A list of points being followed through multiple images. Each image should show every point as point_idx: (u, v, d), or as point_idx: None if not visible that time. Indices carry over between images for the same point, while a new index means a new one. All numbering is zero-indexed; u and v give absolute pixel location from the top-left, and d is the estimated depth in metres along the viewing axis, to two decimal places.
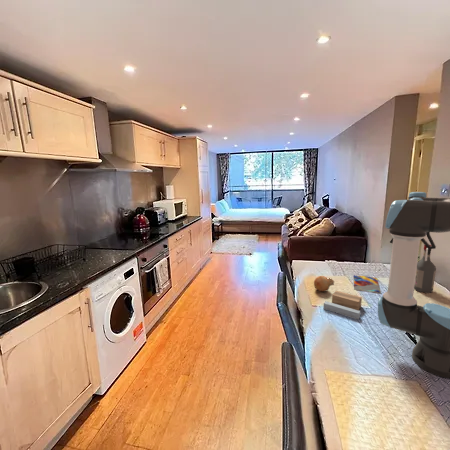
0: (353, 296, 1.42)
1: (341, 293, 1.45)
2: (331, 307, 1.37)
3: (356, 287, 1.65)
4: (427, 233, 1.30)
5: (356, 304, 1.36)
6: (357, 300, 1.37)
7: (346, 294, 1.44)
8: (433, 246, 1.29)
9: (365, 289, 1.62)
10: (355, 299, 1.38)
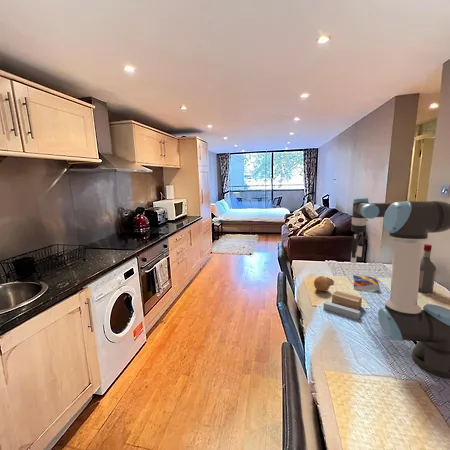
0: (353, 296, 1.42)
1: (341, 293, 1.45)
2: (331, 307, 1.37)
3: (356, 287, 1.65)
4: None
5: (356, 304, 1.36)
6: (357, 300, 1.37)
7: (346, 294, 1.44)
8: None
9: (365, 289, 1.62)
10: (355, 299, 1.38)
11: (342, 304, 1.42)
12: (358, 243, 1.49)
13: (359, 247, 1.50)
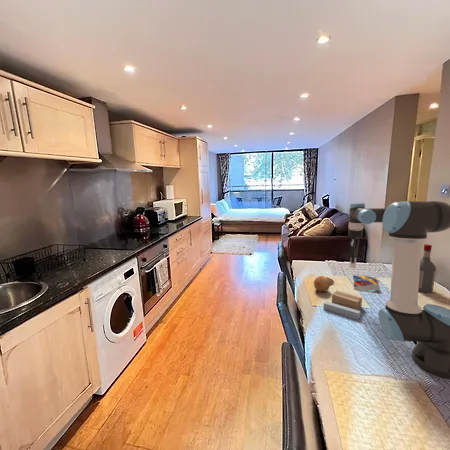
0: (353, 296, 1.41)
1: (341, 293, 1.45)
2: (331, 307, 1.37)
3: (356, 287, 1.65)
4: None
5: (355, 304, 1.36)
6: (356, 300, 1.37)
7: (346, 294, 1.44)
8: None
9: (365, 289, 1.62)
10: (354, 299, 1.38)
11: (342, 304, 1.42)
12: None
13: None
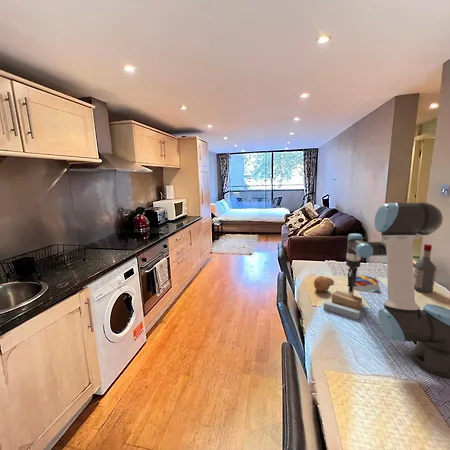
0: (353, 296, 1.41)
1: (341, 293, 1.46)
2: (331, 307, 1.37)
3: (356, 287, 1.65)
4: None
5: (354, 304, 1.36)
6: (356, 300, 1.37)
7: (347, 294, 1.44)
8: (348, 284, 1.48)
9: (365, 289, 1.62)
10: (354, 299, 1.38)
11: (341, 304, 1.42)
12: None
13: None
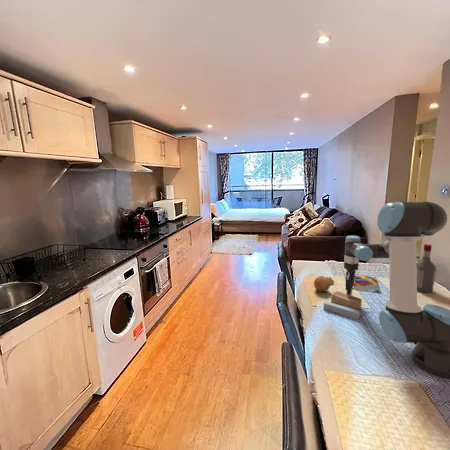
0: (353, 297, 1.40)
1: (341, 294, 1.45)
2: (331, 307, 1.37)
3: (356, 287, 1.65)
4: None
5: (353, 305, 1.35)
6: (355, 301, 1.36)
7: (346, 295, 1.44)
8: None
9: (365, 289, 1.62)
10: (353, 300, 1.37)
11: (341, 304, 1.41)
12: None
13: None
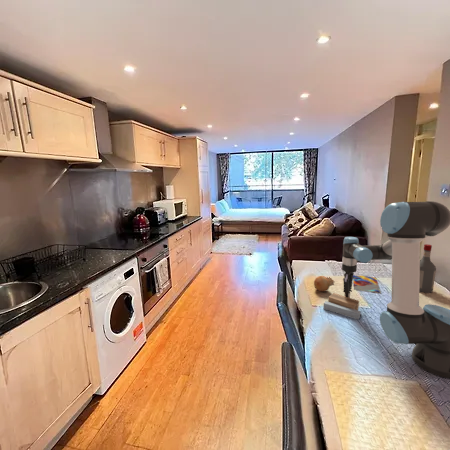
0: (350, 299, 1.38)
1: (338, 296, 1.42)
2: (331, 307, 1.37)
3: (356, 287, 1.65)
4: None
5: (352, 307, 1.33)
6: (353, 303, 1.34)
7: (343, 297, 1.41)
8: None
9: (365, 289, 1.62)
10: (351, 302, 1.35)
11: None
12: None
13: None
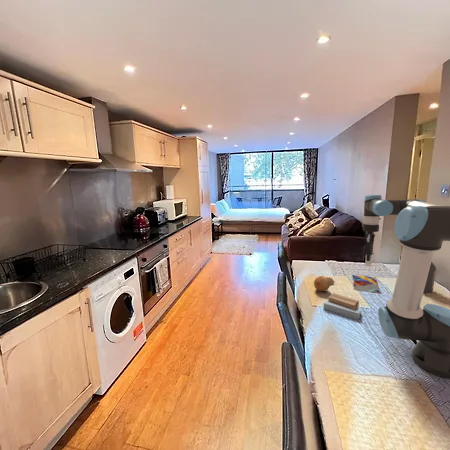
0: (350, 299, 1.38)
1: (338, 296, 1.42)
2: (331, 307, 1.37)
3: (356, 287, 1.65)
4: None
5: (352, 307, 1.33)
6: (353, 303, 1.34)
7: (343, 297, 1.41)
8: None
9: (365, 289, 1.62)
10: (351, 302, 1.35)
11: None
12: None
13: None
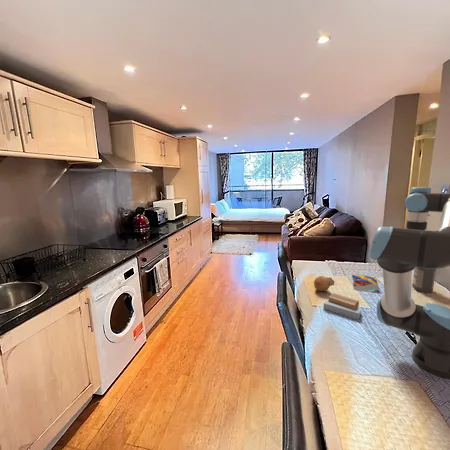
0: (350, 299, 1.38)
1: (338, 296, 1.42)
2: (331, 307, 1.37)
3: (356, 287, 1.65)
4: None
5: (352, 307, 1.33)
6: (353, 303, 1.34)
7: (343, 297, 1.41)
8: None
9: (365, 289, 1.62)
10: (351, 302, 1.35)
11: None
12: None
13: None
